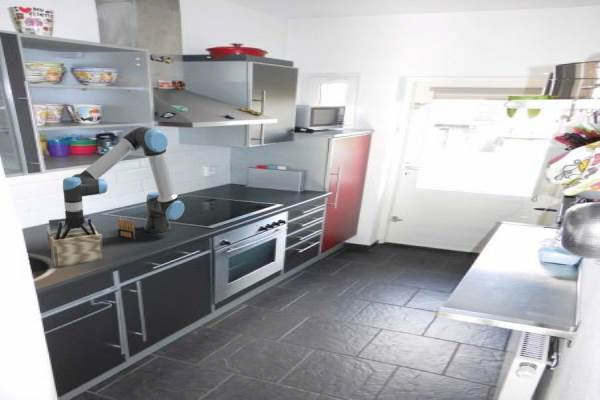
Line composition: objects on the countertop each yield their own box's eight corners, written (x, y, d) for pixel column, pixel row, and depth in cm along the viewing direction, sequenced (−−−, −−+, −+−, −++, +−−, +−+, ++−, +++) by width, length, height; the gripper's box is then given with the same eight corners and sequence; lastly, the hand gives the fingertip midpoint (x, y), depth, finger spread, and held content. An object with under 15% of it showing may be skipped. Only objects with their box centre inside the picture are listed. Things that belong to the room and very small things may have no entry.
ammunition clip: (118, 237, 228) (117, 217, 225) (120, 236, 230) (119, 216, 227) (133, 240, 226) (133, 219, 222) (135, 239, 227) (135, 219, 224)
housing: (92, 241, 218) (90, 218, 215) (103, 259, 197) (101, 234, 194) (48, 248, 206) (46, 223, 203) (55, 268, 185) (53, 241, 182)
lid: (90, 222, 215) (90, 215, 214) (95, 229, 206) (95, 222, 205) (46, 227, 203) (46, 220, 202) (49, 235, 194) (48, 227, 193)
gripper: (98, 205, 200) (101, 245, 205) (44, 210, 186) (49, 253, 192) (101, 208, 194) (104, 250, 200) (46, 214, 180) (50, 259, 186)
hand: (77, 252), depth 196 cm, fingers open, 10 cm apart
